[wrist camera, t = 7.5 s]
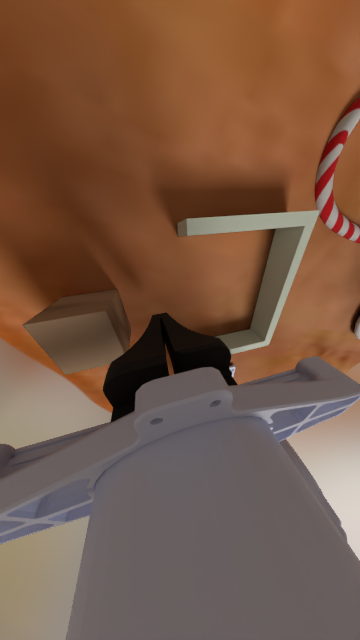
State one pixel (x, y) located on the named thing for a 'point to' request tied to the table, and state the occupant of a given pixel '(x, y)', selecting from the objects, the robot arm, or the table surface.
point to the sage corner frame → (279, 267)
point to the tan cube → (82, 330)
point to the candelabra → (357, 328)
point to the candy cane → (326, 174)
